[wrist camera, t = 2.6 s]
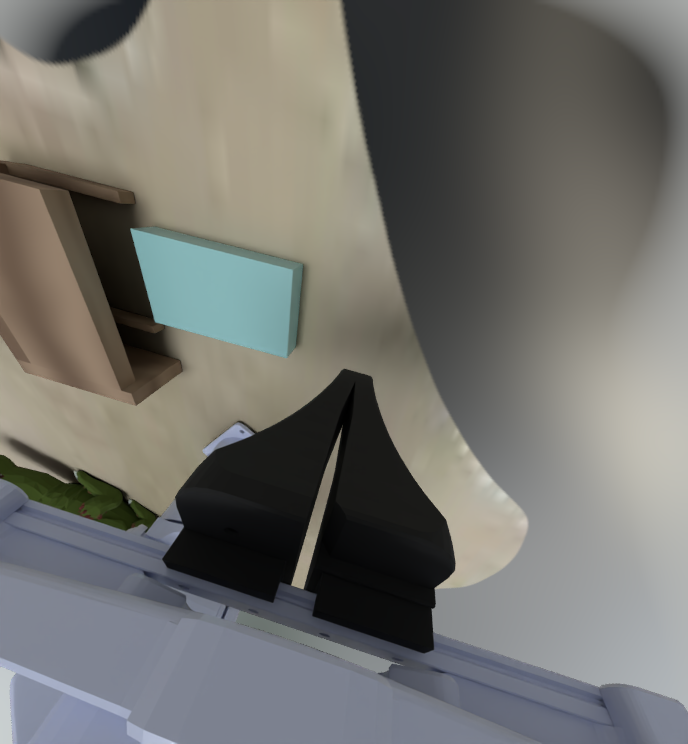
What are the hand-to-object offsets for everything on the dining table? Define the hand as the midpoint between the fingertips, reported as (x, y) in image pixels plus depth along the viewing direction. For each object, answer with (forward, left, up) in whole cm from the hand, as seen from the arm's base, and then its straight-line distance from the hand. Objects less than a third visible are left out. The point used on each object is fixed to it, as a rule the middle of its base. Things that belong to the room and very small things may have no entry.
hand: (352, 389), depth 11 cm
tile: (+8, +6, -7) cm, 12 cm away
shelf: (+15, +12, -7) cm, 20 cm away
